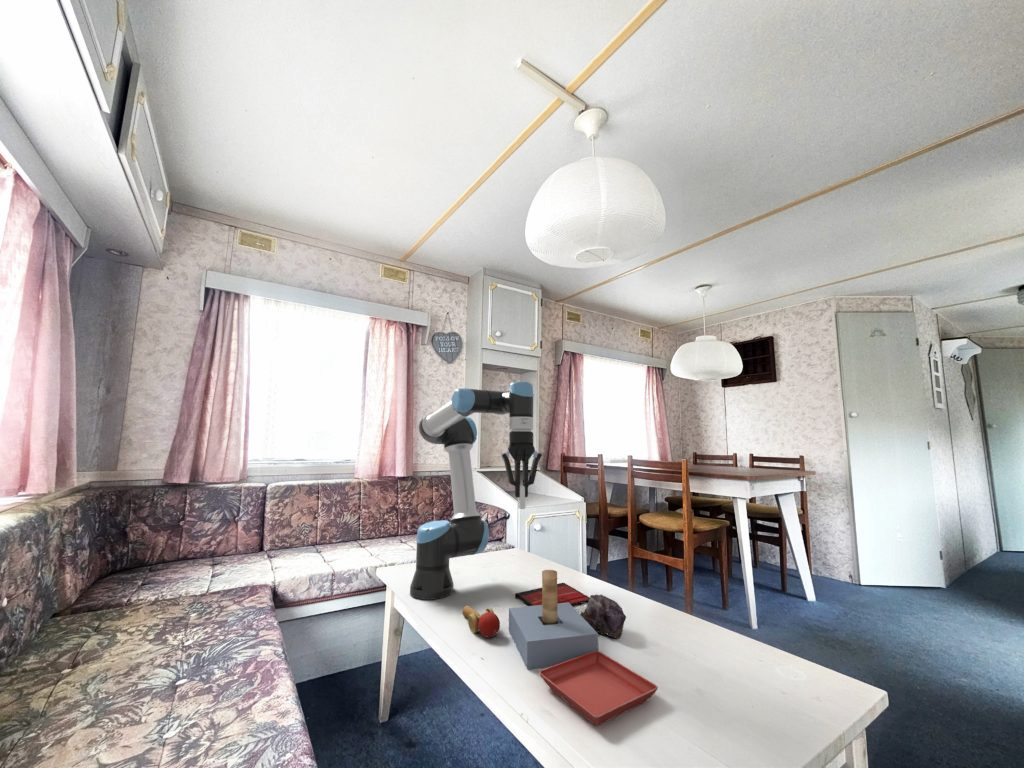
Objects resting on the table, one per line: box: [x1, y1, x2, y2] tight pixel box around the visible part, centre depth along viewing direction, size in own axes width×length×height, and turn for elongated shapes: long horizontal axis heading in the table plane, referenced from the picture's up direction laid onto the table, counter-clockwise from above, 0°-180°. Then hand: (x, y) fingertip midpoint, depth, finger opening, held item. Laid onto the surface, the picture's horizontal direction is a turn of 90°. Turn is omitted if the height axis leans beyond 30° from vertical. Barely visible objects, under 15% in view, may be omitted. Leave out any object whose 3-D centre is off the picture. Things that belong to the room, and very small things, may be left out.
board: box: [508, 602, 599, 670], centre depth 107 cm, size 20×18×6 cm
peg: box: [541, 569, 558, 625], centre depth 108 cm, size 4×4×18 cm
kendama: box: [462, 605, 501, 638], centre depth 116 cm, size 8×6×18 cm
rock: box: [579, 594, 627, 639], centre depth 115 cm, size 12×9×10 cm
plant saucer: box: [538, 650, 659, 726], centre depth 86 cm, size 18×18×3 cm
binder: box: [514, 582, 590, 607], centre depth 137 cm, size 16×2×21 cm
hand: (521, 508), depth 125 cm, fingers closed
